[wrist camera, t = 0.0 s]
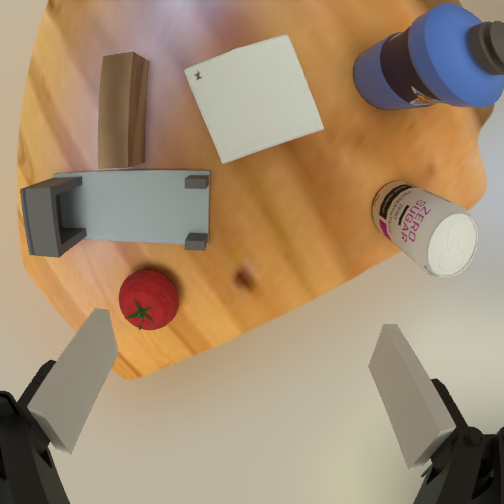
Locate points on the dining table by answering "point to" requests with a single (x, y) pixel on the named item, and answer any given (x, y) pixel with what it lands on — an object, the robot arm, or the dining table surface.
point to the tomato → (148, 300)
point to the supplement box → (254, 98)
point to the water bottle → (435, 63)
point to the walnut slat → (122, 110)
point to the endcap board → (117, 209)
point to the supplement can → (426, 228)
